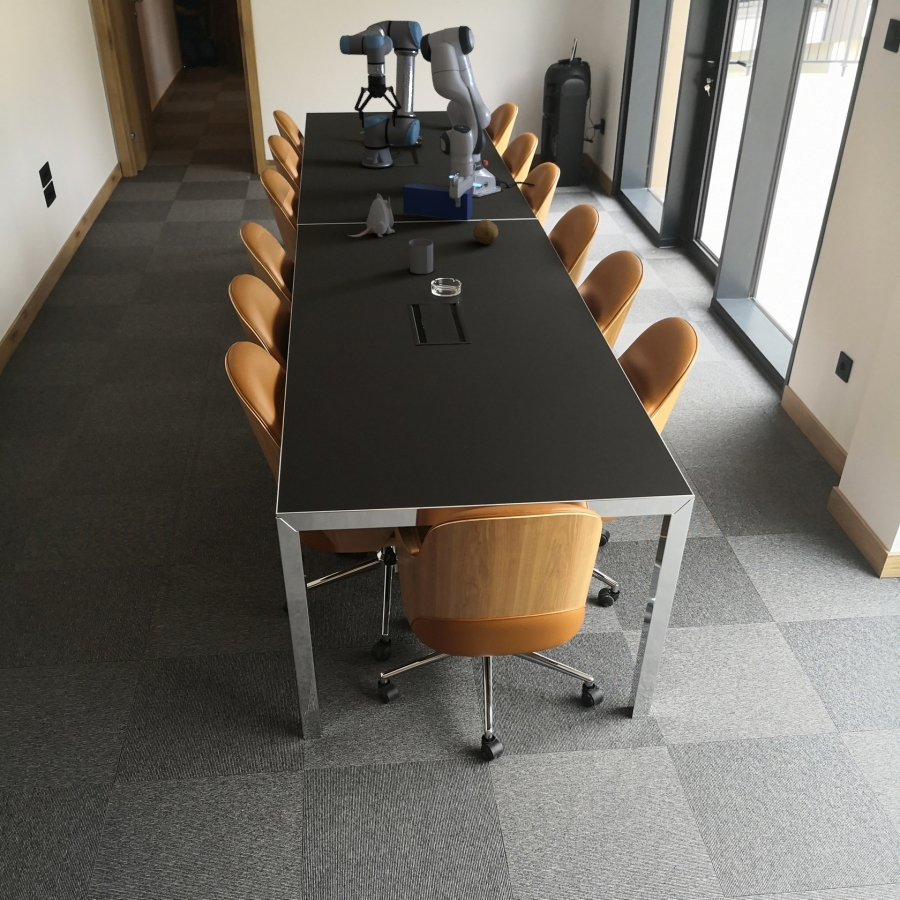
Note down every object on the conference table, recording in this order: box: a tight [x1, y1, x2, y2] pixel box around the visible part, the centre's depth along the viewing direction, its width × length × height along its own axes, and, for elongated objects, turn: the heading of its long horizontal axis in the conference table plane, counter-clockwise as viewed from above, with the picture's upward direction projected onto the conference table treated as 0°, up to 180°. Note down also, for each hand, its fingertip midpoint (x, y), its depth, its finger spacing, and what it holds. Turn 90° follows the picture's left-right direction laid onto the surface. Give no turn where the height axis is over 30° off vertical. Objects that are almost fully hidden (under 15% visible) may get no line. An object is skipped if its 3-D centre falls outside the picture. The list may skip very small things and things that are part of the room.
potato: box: [472, 219, 499, 245], centre depth 330 cm, size 10×14×8 cm
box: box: [402, 182, 473, 221], centre depth 353 cm, size 28×6×11 cm, turn 70°
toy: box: [347, 192, 396, 238], centre depth 333 cm, size 9×24×15 cm, turn 137°
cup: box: [408, 237, 434, 275], centre depth 305 cm, size 8×8×10 cm
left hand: (378, 126), depth 379 cm, fingers open, 13 cm apart
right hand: (461, 203), depth 350 cm, fingers closed on box, 6 cm apart
